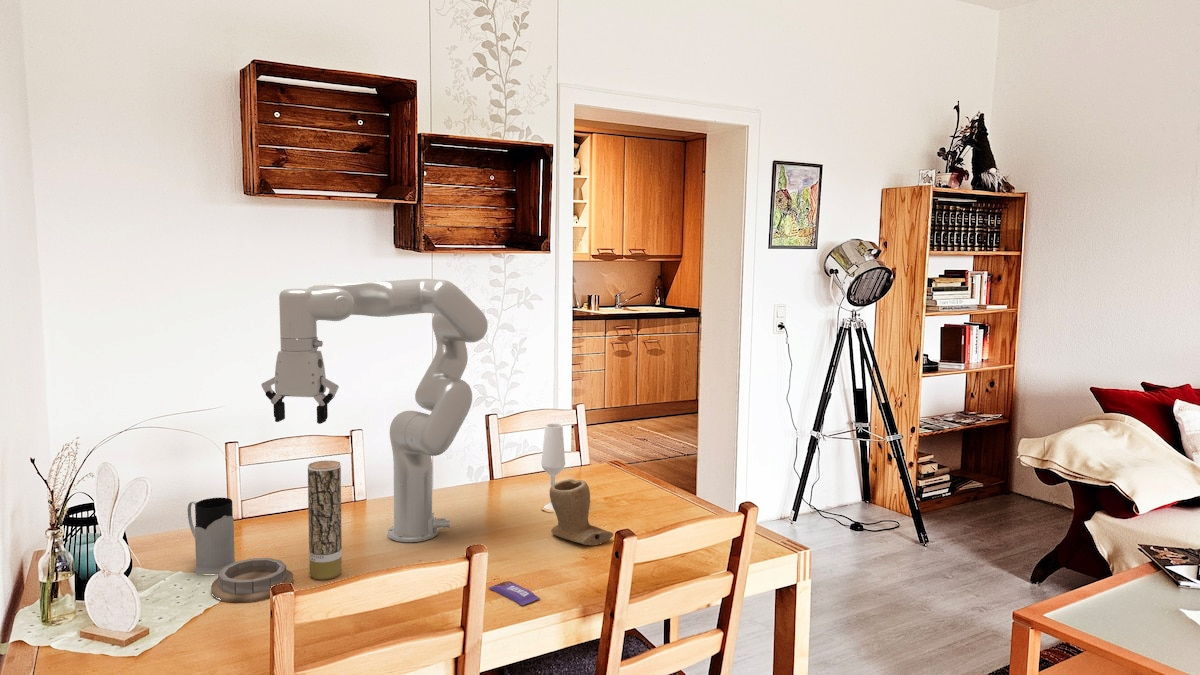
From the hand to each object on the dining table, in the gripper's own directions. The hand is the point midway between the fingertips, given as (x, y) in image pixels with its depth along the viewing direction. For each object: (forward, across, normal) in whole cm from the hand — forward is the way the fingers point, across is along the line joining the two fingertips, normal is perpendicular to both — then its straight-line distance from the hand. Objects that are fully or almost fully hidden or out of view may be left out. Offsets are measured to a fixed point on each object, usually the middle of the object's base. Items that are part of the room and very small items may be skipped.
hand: (300, 421), depth 179 cm
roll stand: (+33, +6, +12) cm, 36 cm away
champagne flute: (+34, -49, -49) cm, 77 cm away
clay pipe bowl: (+34, -59, -27) cm, 73 cm away
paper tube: (+34, -7, +4) cm, 35 cm away
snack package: (+35, -50, +7) cm, 61 cm away
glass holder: (+34, +21, +3) cm, 40 cm away
